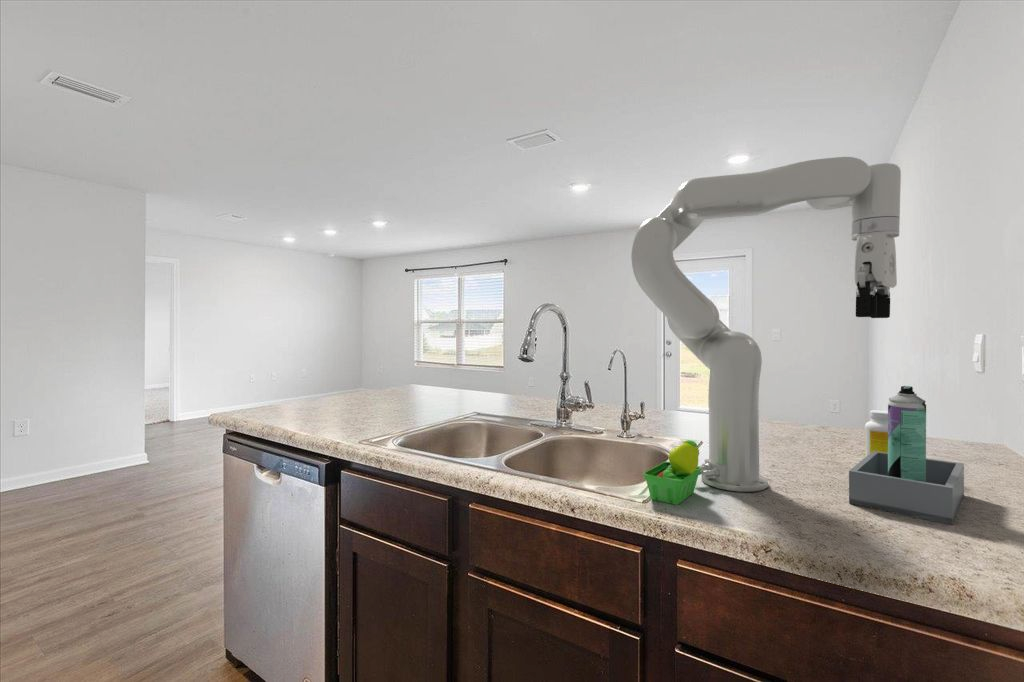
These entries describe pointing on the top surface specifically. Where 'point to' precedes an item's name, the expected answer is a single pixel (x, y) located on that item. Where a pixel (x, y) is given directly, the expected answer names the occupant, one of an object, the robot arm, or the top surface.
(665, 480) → the fruit basket
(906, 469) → the spray can
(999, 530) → the top surface
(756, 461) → the robot arm
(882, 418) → the supplement bottle
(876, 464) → the bin
